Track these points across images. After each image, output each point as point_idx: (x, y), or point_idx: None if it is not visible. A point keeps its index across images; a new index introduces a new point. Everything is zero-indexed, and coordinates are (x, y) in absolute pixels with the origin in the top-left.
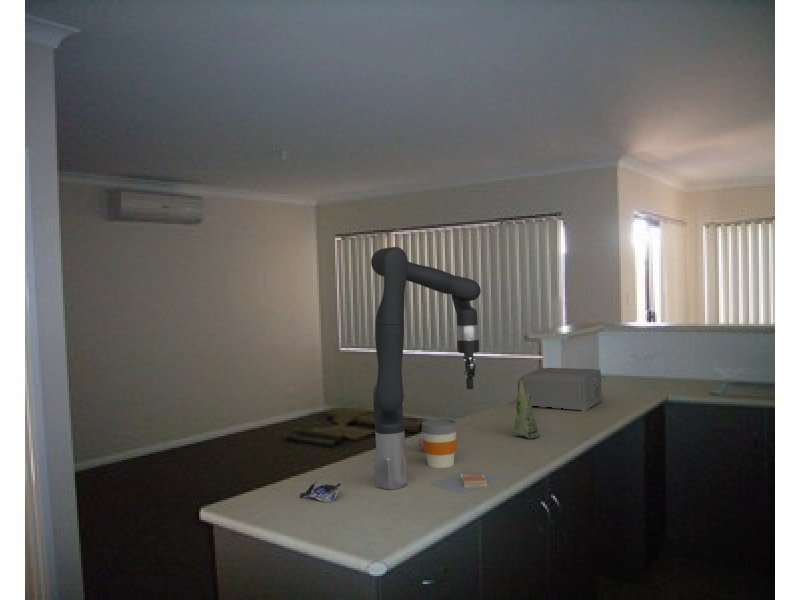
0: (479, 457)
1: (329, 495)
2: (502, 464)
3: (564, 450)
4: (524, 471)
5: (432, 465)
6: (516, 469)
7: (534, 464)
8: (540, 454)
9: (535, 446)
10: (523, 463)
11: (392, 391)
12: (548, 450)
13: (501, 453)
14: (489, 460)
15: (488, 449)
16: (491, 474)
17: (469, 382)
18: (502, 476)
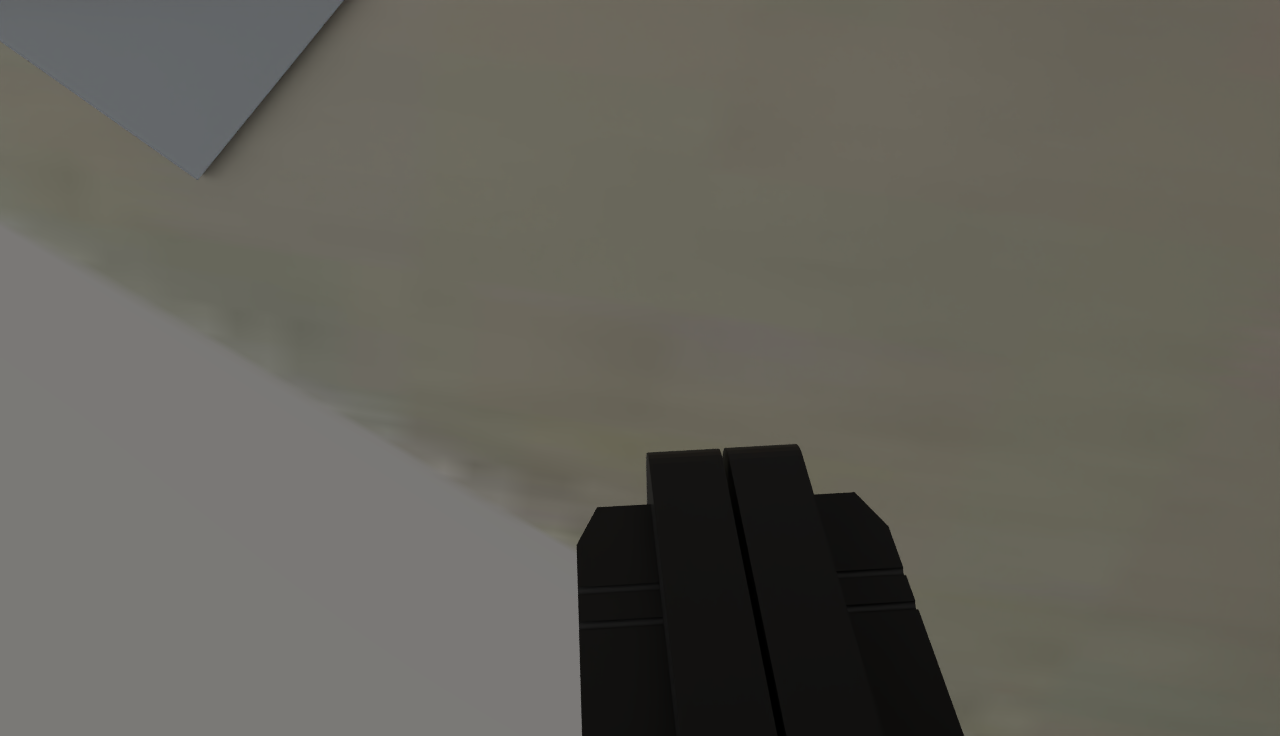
0: (993, 36)
1: None
2: (669, 227)
3: (957, 712)
4: (413, 371)
5: None
6: (482, 319)
7: (617, 474)
8: (904, 559)
9: (1162, 565)
10: (665, 402)
11: None
12: (1000, 625)
13: (1059, 275)
14: (844, 125)
15: (1265, 175)
16: (274, 70)
17: (582, 695)
18: (205, 166)
